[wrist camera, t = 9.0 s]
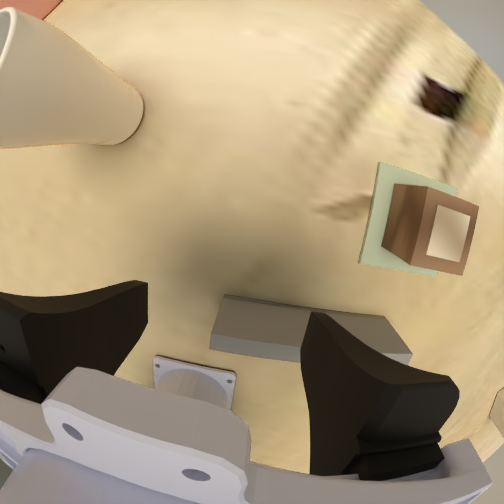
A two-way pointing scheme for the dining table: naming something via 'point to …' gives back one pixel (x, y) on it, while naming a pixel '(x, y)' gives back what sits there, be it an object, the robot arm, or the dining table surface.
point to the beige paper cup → (58, 89)
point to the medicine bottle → (498, 412)
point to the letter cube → (429, 228)
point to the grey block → (293, 330)
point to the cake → (31, 6)
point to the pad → (379, 214)
